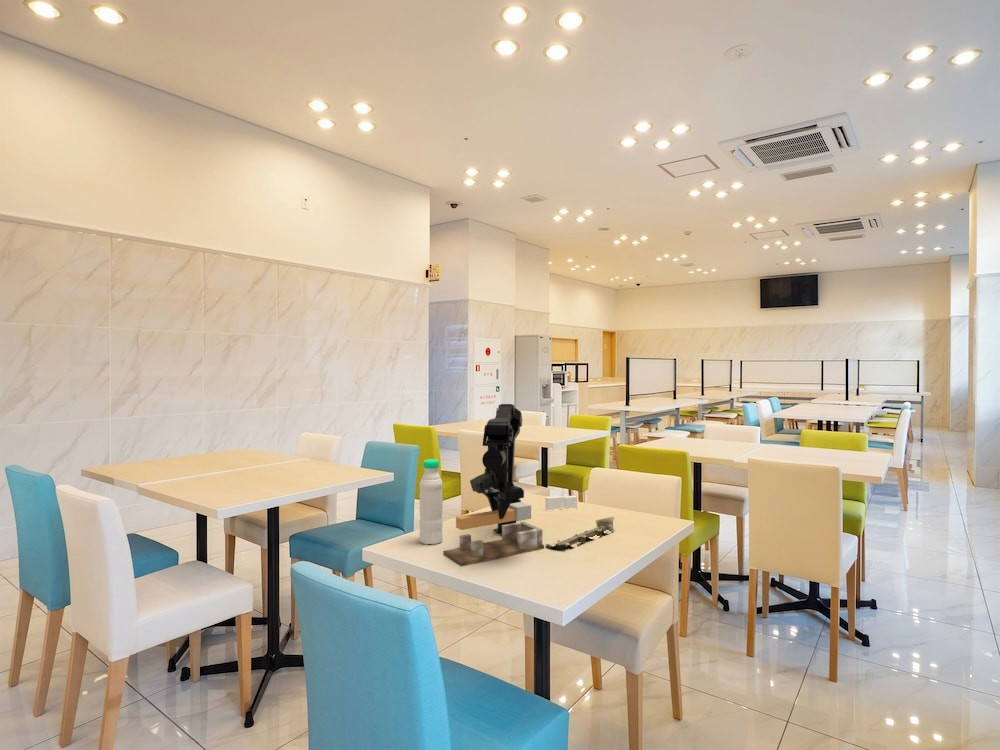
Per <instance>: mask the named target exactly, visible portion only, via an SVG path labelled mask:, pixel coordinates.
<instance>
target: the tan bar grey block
mask: <svg viewBox="0 0 1000 750" xmlns="http://www.w3.org/2000/svg"><path fill="white" fill-rule="evenodd" d="M531 519H532V505H531V504H529V503H526V502H523V501H521V502H518V503H511V504H510V505H509V507H508V510H507V512H506V514H505V516H504V518H503V519H499V513H498V510H495V511H492V510H490V511H484V512H477V513H472V514H466V515H465V514H464V515H460V516H455V528H457V529H458V530H459V531H463V530H469V529H475V528H480V527H485V526H492V525H498V523H504V522H510V521H516V522H523V521H528V520H531Z"/></svg>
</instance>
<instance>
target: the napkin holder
mask: <svg viewBox="0 0 1000 750" xmlns="http://www.w3.org/2000/svg"><path fill="white" fill-rule="evenodd" d="M544 502H545V508H546V509H547V510H554V509H561V508H565V509H569V508H577V509H578V496H576V495H555V496H554V495H553V496H546V497H545V501H544ZM575 502H576V503H575ZM545 508H544V509H545Z"/></svg>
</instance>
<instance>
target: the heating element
mask: <svg viewBox="0 0 1000 750" xmlns="http://www.w3.org/2000/svg"><path fill="white" fill-rule="evenodd" d="M614 519H615V516H611V517H610V516H609V517H606V518H600V519H596V520H595V524H596V527H594V528H593V529H590V530H589V529H588V530H589V531H588V530H585V531H584V532H581V533H579V535H578V533H576V534H574V535H572V536H571V537H569V538H567V539H564V540H561V541H560V539H558V540H557V543H556V542H554V543H553V544H554V545H552V544H549V543H545V548H555V549H565V548H570V549H572V548H574V547H575V546H572V545H575V544H576V546H577V547H580V545H581V544H583V543H585V542H586V541H587V540H592V541H593V539H594V538H593V539H590V538H589V537H593V536H595V535H597V536H601V537H602V536H603V534H605V535H607V534H606V533H607V532H606V533H604V531H606V530H609V531H613V532H614ZM597 527H598V528H597ZM577 542H578V543H577ZM580 542H581V543H580Z"/></svg>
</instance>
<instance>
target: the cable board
mask: <svg viewBox="0 0 1000 750" xmlns="http://www.w3.org/2000/svg"><path fill="white" fill-rule="evenodd" d="M544 548H545V544H543V529H542V528H540V527H537V526H535V525H532V524H530V523H528V522H525V521H517V522H516V523H512V524H506V525H502V535H501V539H496V540H492V541H487V542H484V540H483V541H482V540H481V539H480V540H473V541H472V535H471V534H470V533H466V534H461V535H459V547H457V548H456V547H455V548H451V549H446V550H443V552H442V554H443V555H444V556H445V557H446V558H448V559H450V560H451V561H453V562H454V563H456V564H458V565H459V566H460V567H463V566H468V565H472V564H477V563H482V562H487V561H491V560H498V559H501V558H505V557H510V556H514V555H520V554H524V553H529V552H533V551H538V550H543V549H544Z"/></svg>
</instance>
